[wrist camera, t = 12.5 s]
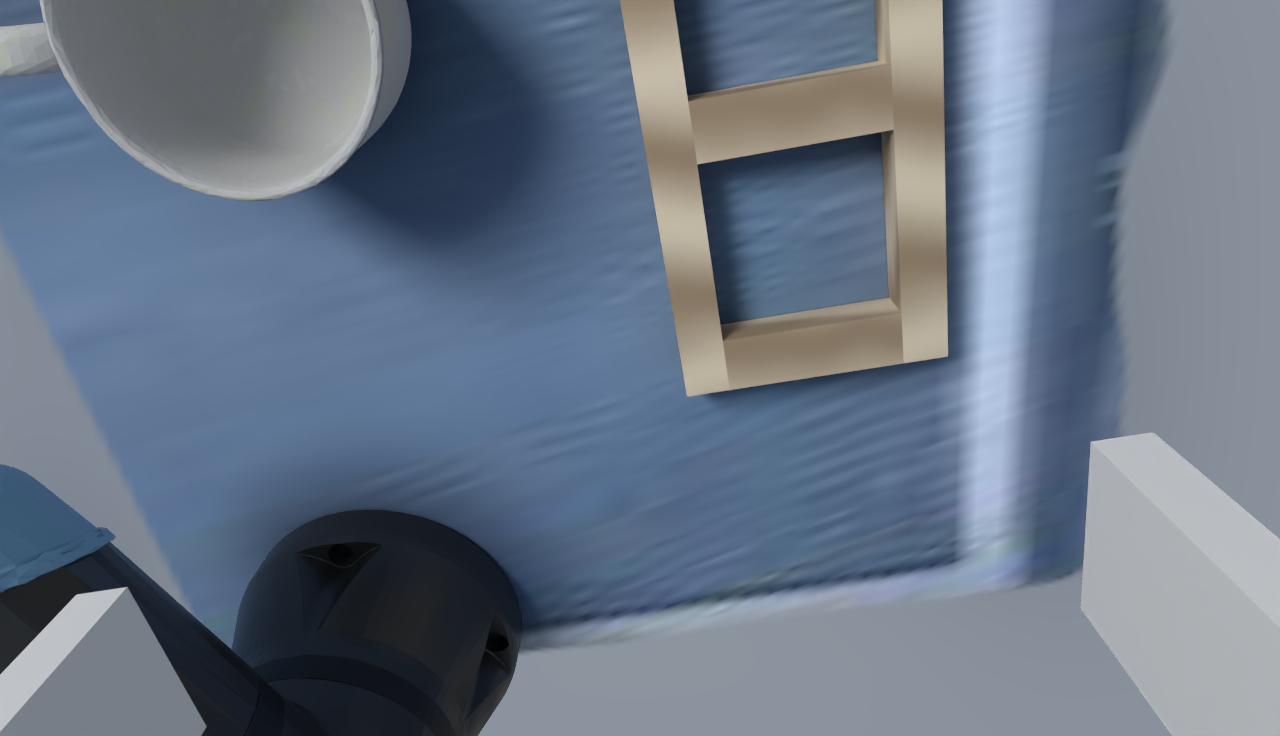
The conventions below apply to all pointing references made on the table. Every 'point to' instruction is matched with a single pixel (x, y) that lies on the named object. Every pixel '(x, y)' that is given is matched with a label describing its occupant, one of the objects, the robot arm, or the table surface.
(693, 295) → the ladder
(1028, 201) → the table surface
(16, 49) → the teacup
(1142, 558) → the robot arm
